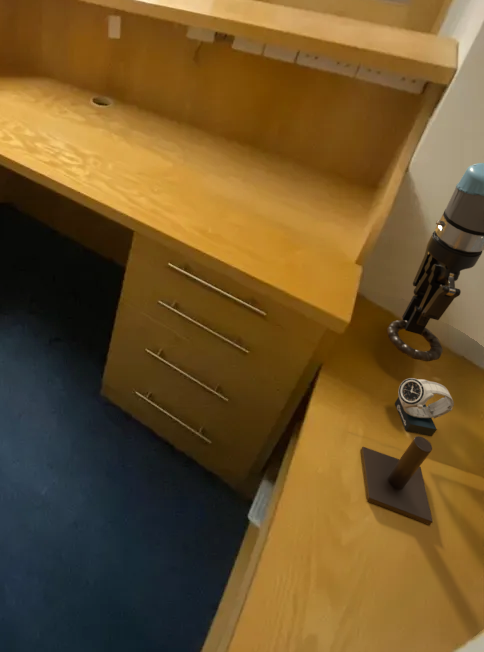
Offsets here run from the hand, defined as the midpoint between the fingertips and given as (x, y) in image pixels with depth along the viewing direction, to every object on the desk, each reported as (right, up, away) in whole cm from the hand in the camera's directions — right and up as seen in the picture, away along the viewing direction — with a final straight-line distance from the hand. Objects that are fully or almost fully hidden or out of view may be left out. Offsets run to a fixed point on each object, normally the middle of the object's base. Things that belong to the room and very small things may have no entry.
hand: (411, 325), depth 105 cm
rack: (-17, -21, -18) cm, 32 cm away
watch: (-7, -15, -8) cm, 19 cm away
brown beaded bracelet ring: (-1, -2, -3) cm, 4 cm away
